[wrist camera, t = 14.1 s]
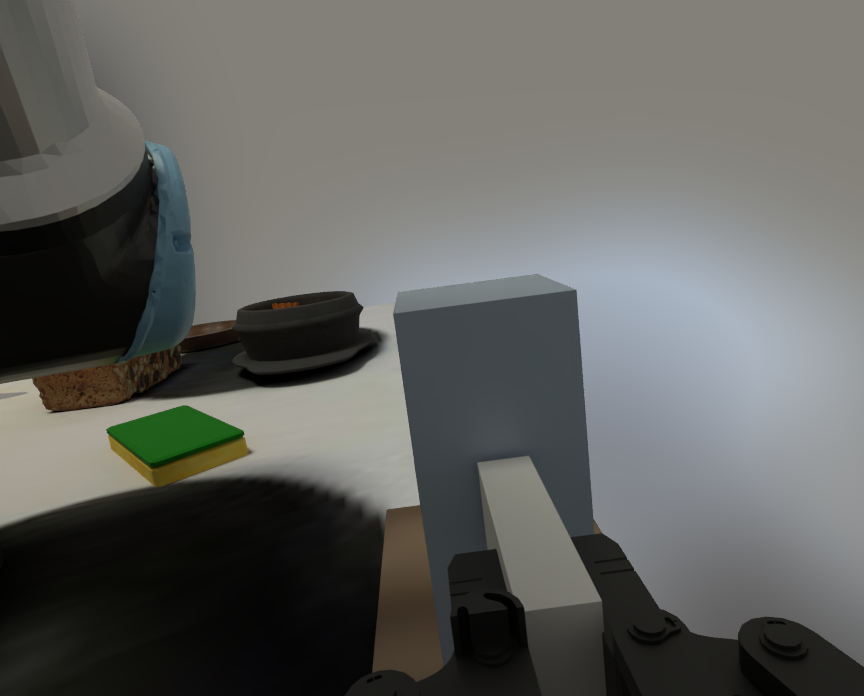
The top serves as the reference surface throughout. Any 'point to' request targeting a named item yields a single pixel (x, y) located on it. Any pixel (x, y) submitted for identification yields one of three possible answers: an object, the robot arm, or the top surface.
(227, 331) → the plant saucer
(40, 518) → the top surface
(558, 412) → the slate blue block
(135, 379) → the bread
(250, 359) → the casserole
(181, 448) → the dish sponge
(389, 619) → the wooden board with block
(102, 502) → the top surface
